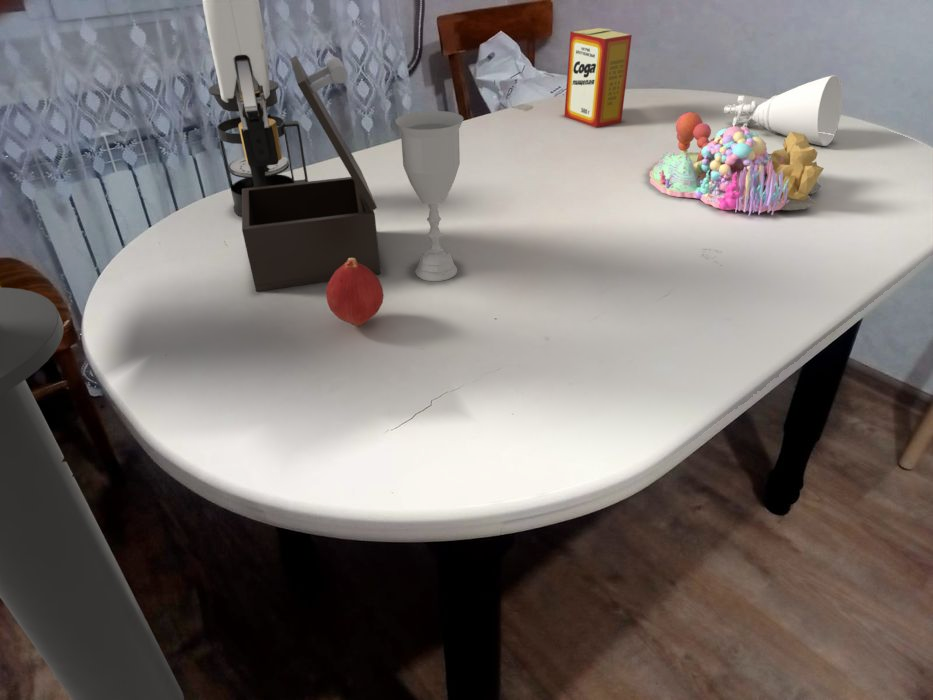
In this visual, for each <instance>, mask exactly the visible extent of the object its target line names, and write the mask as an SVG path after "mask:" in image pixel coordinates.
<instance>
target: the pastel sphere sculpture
mask: <svg viewBox="0 0 933 700" xmlns="http://www.w3.org/2000/svg"><path fill="white" fill-rule="evenodd" d="M675 131H676V139H677V141H678V144H677V148H678V149H679V150H680V153H674V152H665V153H663V154H662V157H661V158H660V159H659V161H658V163H655V165H653V168H652V169H651V170H650V171H649V177H650V180H649V183H650V184H651V185H652V186H653V187H655V188H656V189H657V190H658V191H659V192H661V194H666V195H668V196H670V197H671V196H672V197H677V198H693V199H697V200H701V201H702V202H703V203H704V204H706V205H710V206H712V207H713V208H715V209H720V210H721V211H731V210H734V212H735V213H737V211H738V212H740V211H743V213H746V212H748V217H751V213H758V216H760V214H761V213H764V212H767V213H768V214H769V213H770V212H771V216H773V215H774V212H775V211H780V210H782V211H798V210H806V209H808V208H809V207H813V206H814V205H815V202H814V201H813V200H812V198H811V197H810V196H809V194H810V195H811V194H815V193H816V192H819V191H821V189H822V186H823V185H821V183H819V182H818V180H819V177H820V175H821V174H822V172H823V171H824V167H822V166H819V165H818V163H817V161H815V160H817V157H818V153H819V152H818V151H817V149H816V148H815V147H813V146H810V143H809V142H808V139H807V137H806V136H805V135H804V134H800V133H794V132H790V134H789V135H788V136H786V138H784V141H783V144H782V147H783V148H780V149H776V150H773V151H772V153H768V151H767V150H768V148H767V143H766V142H765V140H764V139H763V138H762V137H760V136H759V135H758V134H757V133H755V132H750V129H749V127H748V126H747V127H743V128H742V129H741V127H740V126H738V125H737V126H733V125H732V126H730V127H728V128H726V127H725V128H722V129H720V130H718V132H717V133H716V134H715V137H713V138H712V139H710V140H709V138H710V137H711V134H712V129H711V126H710V125H709V124H707V123H705V122H704V121H703V119H702V116H701V115H700V114H698V113H696V112H694V111H688V112H685V113H683V114H681V115H680V116H679V117H678V118H677V120H676V124H675ZM694 139H695V140H696V145H697V147H698V148H699V149H700V150H701V151H699V152H693V151H692V152H691V151H690V152H688V149H689V148H690V147H691V142H692V141H694Z"/></svg>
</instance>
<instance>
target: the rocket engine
mask: <svg viewBox="0 0 933 700" xmlns="http://www.w3.org/2000/svg"><path fill="white" fill-rule="evenodd" d="M842 87H843V86H842V82H841V80H840V77H838V76H837V74H832V75H829V76H824V77H821V78H818V79H815V80H812V81H809V82H807V83H804V84H800V85H799V86H796V87H793V88H791V89H789V90H786V91H784V92H782V93H779V94H778V95H777V94H776V95H773V96H771V97H770V98H768V99H767V100H765V101H762V102H761V103H760V104H758V105H757V101H756V100H752V101H751V104H750V103H749V100H748V98H747V97H746V95H738V96H737V97H738V98H737V99H736V101H737V104H738V105H736V104H735V103H733V104H732V105H730V104H729V103H728V104H727V105H726V106H724V108H723V113H724V114H735V116H734V117H733V121H732V123H731V125H732V126H738V125H741V124H743V125H742V126H741V127H740V128H741V129H742V128H743V127H748V125H751V126H754V125H756V124H758V125H759V126H761V127H764V128H765V129H767V130H768V131H769V132H770V133H774V132H775V133H778V134H780V135H782V136H785V137H787V136H788V135H789V134H790V132H794V133H800V134H804V135H805V136H806V137H807V139H808V142H809V144H812V145H816V146H822V147H827V146H829V145H830V143H832V141H833V139H834V138H835V135H836V133H837V131H838V128H839V124H840V119H841V115H842V109H843V88H842ZM818 132H825V133H831V134H835V135H834V136H833V135H828V134H823V133H818Z"/></svg>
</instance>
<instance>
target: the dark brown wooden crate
mask: <svg viewBox="0 0 933 700" xmlns="http://www.w3.org/2000/svg"><path fill="white" fill-rule="evenodd" d="M241 232H242V236H243V240H244V244H245V249H246V253H247V258H248V263H249V267H250V271H251V275H252V280H253V284H254V289H255V291H256V292H262V291H263V292H264V291H269V290H276V289H277V290H278V289H284V288H290V287H296V286H305V285H312V284H318V283H319V284H320V283H327V282H329V281H330V279H331V277H332V276H333V274H334V272H335V271H336V270H337V269H338V268H340V267H341V266H342V265H344V264H345V263H346V262H347V260H348V259H349V258H355V259H356V261H357V263H359V264H362V265H364V266H366V267H367V268H369V269H370V270H371V271H372V272H373V273H374V274H375V275H376V276H377V275H381V263H380V253H379V242H378V233H377V221H376V213H375V211H374V210H373V211H371V210H370V208H369V207H368V205H367V203H366V201H365V200H364V198H363V196H362V194H361V193H360V191H359V189H358V188H357V186H356V184H355V182H354V181H353V179H352V177H351V176H346V177H337V178H329V179H321V180H320V179H318V180H308V182H300V183H290V184H281V185H272V186H263V187H254V188H244V189H242V217H241Z"/></svg>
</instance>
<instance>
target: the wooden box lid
mask: <svg viewBox="0 0 933 700" xmlns="http://www.w3.org/2000/svg"><path fill="white" fill-rule="evenodd" d="M290 64H291V67H292V70H293V72H294V76H295V80H296V83H297V86H298V88H299V89H300V91H301V93H302V95H303V96H304V98H305V100H306V101H307V103H308V105H309V107H310V109H311V111H312V112H313V114H314V115H315V117H316V119H317V120H318V123H319V124H320V126H321V127H322V129H323V131H324V133H325V134H326V136H327V137H328V140H329V141H330V143H331V145H332V146H333V148H334V150H335V152H336V153H337V155H338V157H339V159H340V160H341V162H342V164H343V166H344V167H345V169H346V170H347V172H348V174H349V175H350V176H349V177H352V179H353V181H354V182H355V184H356V186H357V188H358V189H359V191H360V193H361V194H362V196H363V198H364V200H365V201H366V203H367V205H368V207H369V208H370V210H371V211H374V210H376V209H378V206H377V204H376V202H375V199H374V197H373V194H372V192H371V190H370V188H369V185H368V183H367V181H366V179H365V176H364V174H363V172H362V169H361V168H360V166H359V164H358V162H357V161H356V159H355V157H354V155H353V154H352V151H351V149H350V148H349V146H348V144H347V142H346V140H345V139H344V137H343V136H342V134H341V132H340V131H339V129H338V126H337V125H336V123H335V121H334V120H333V117H332V116H331V115H330V113H329V111H328V109H327V107H326V106H325V104H324V102H323V100H322V98H321V96H320V95H319V93H318V92H317V91H320V90H321V89H323V88H325V87H326V86H329V85H331V84H332V83H335V84H338V85H341V84H344V83H346V81H347V80H348V77H349V74H348V73H349V72H348V71H347V68H346V67H345V65H344V63H343V62H342V60H341V59H340V58H339V57H338V56H330V57H328V58H327V60H326V62H325V66H324V67H322V68H320V69H318V70H316V71H315V72H313V73H311V74H310V75H308V74H307V71H306V70H305V69H304V67H303V65H302V63H301V62H300V60H299V58H298V57H297V55H295V56H293V57H291V58H290Z"/></svg>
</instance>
